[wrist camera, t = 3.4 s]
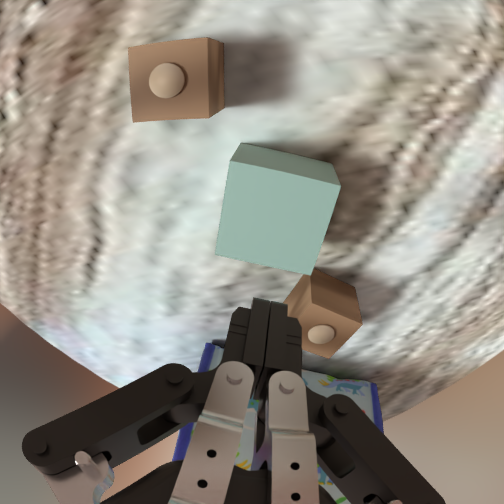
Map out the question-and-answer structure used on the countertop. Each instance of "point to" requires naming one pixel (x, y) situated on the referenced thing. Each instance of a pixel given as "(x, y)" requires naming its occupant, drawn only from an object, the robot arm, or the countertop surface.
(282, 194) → the plain block
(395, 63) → the countertop surface
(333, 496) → the lunch bag
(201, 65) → the dotted cube
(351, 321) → the dotted cube
